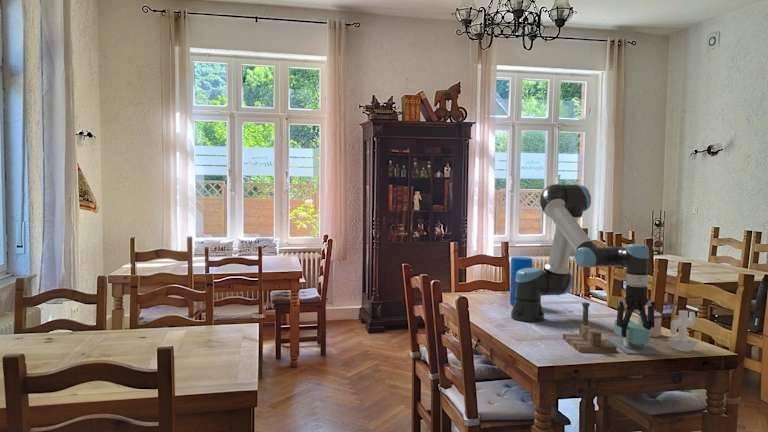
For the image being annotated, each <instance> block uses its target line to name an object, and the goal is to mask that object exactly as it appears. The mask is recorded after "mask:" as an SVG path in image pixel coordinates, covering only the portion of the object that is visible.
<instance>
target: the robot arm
mask: <svg viewBox="0 0 768 432" xmlns="http://www.w3.org/2000/svg"><path fill="white" fill-rule="evenodd" d="M539 196H540V197H539V205H540V208H541V210H542V212H543V213H544V215H545V216H547V217H548V218H549V217H550V218H551V220H552V221H553V223H554V224H555V230H554V235H553V239H552V243H551V249H550V254H549V257H548V258H549V260H548V262H547V263H545V264H544V266H543V267H544V268H543V270H542V269H541V268H539V267H532V268H524V269H520V270H518V271H517V273H516V279H515V281H516V290H515V303H514V306H512V309H511V312H510V318H511V319H512V320H515V321H521V322H528V323H529V322H530V323H537V322H542V321H544V320H545V313H544V309H543V306H542V296H545V297H546V296H561V295H566V294H567V293H569V292H570V291H571V289H572V288H573V283H574V279H573V275H572V273H571V270H570V269H569V267H568V264H569V261H570V256H571V251H572V249H573V250H574V256H573V257H574V259H575V263H576V265H578V266H579V267H582V268H596V267H606V268H607V267H621V268H625V269H626V271H625V283H626V285H625V297H624V299H621V300H620V299H619V300H616V303H617V314H616V320H617V323H616V325H617V326H619V327H621V335H622V337H621V338H623V345H625V346H628V343H629V329H627V326H628V323H629V321H630V320H631V318H632V314H634V311H636V310H637V311H638V312H639V313H640V316H641V320H642V323H643V327H644V328H646V329H648V330H650V329H651V328H654V310H655V305H656V302H655V301H653V300H649V299H648V292H649V291H648V290H649V287H648V285H649V263H650V251H649V246H648V245H646V244H639V243H630V244H629V243H628V244H627V245H626V247H620V246H617V245H616V246H615V245H611V246H607V247H599V246H598V247H597V246H596V245H595V243H594V242H593V240H592V239H591V238H590V237H589V235H588V234H587V233H586V232H585V230H584V229H583V228H582V227H581V225H580V223H579V222H578V220H579V219H580V218H582V217H583V214H584V212H585V211H588V209H590V208H591V204H592V196H591V193H590V191H589V189H588V188H587V187H586V186H584V185H582V184H581V185H580V184H559V183H558V184H555V183H554V184H551V185H548V186H547V187H546V188H544V189H543V191H542V192H541V194H540V195H539ZM625 305H627V306H626V309H625ZM646 305H647V307H648V320H647V316H646V313H645V312H646V311H645V309H646V308H645V307H646ZM641 345H642V346H644V347H646V345H647V344H641Z"/></svg>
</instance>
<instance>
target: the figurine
mask: <svg viewBox="0 0 768 432" xmlns="http://www.w3.org/2000/svg"><path fill="white" fill-rule="evenodd" d="M688 315H689V316H688ZM695 323H696V313H695V312H694V311H689V313H688V310H678V319H672V320H671V322H670V334H671V335H677V330H678V335H677V337H667V340H668V343H669V344H670V346H671V348H672V349H673V348H674V350H675V351H678V350H679V352H681V351H684V352H692V351H693V349H694V348H695V347H696V346H697V344H698V342H697V341H696V340H692V339H689V338H687V337H688V336H687V331H688V327H689V328H690V327H694V326H695Z"/></svg>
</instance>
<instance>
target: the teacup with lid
mask: <svg viewBox="0 0 768 432" xmlns="http://www.w3.org/2000/svg"><path fill="white" fill-rule="evenodd" d="M645 311H646V312H645V313H646V316H647V320H648V306H647V308H645ZM637 317H638V318H637V324H638V325H640V326H642V327H643V323H642V320H641V316H640V313H639V311H638V312H637ZM662 317H663V315H662V313H660V312H659V311H656V310H655V309H654V328H651V329H650V337H649V338H659V337H661V333H662Z"/></svg>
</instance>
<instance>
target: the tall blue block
mask: <svg viewBox="0 0 768 432" xmlns="http://www.w3.org/2000/svg"><path fill="white" fill-rule="evenodd" d="M524 268H533V258H531V257H527V256H513V257H511V258H510V284H509V304H511V305H512V306H511V305H510V306H511V307H513V306H514V303H515V290H516V281H515V279H516V273H517V271H518V270H520V269H524Z"/></svg>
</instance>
